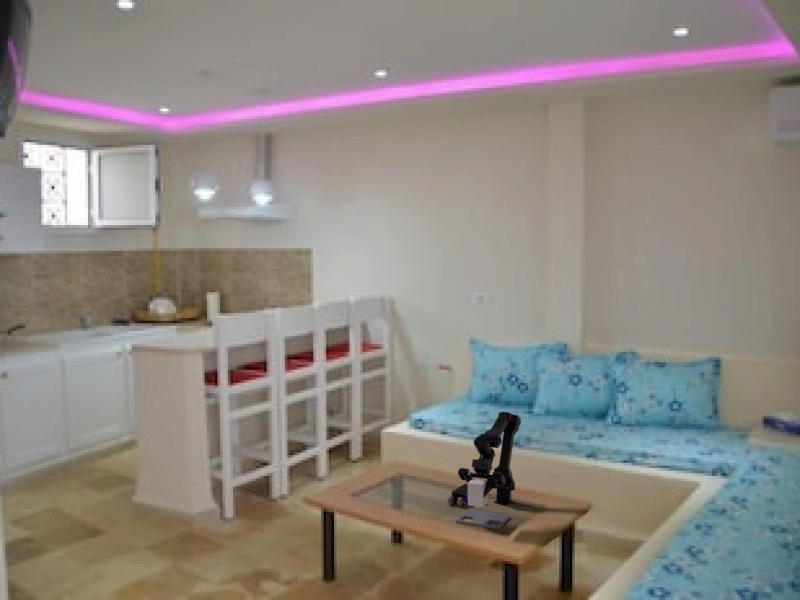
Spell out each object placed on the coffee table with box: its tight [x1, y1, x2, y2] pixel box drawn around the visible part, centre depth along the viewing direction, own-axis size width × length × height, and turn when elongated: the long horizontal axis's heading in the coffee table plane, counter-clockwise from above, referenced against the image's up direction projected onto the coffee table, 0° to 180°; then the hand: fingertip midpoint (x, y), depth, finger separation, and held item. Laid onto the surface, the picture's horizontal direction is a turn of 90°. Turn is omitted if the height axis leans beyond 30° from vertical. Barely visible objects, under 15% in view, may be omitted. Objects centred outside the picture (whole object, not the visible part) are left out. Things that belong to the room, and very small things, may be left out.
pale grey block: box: [467, 478, 488, 511], centre depth 283 cm, size 6×6×11 cm
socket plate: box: [455, 508, 511, 530], centre depth 286 cm, size 14×18×2 cm
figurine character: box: [447, 483, 468, 507], centre depth 308 cm, size 7×8×15 cm
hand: (476, 495), depth 281 cm, fingers closed on pale grey block, 6 cm apart
